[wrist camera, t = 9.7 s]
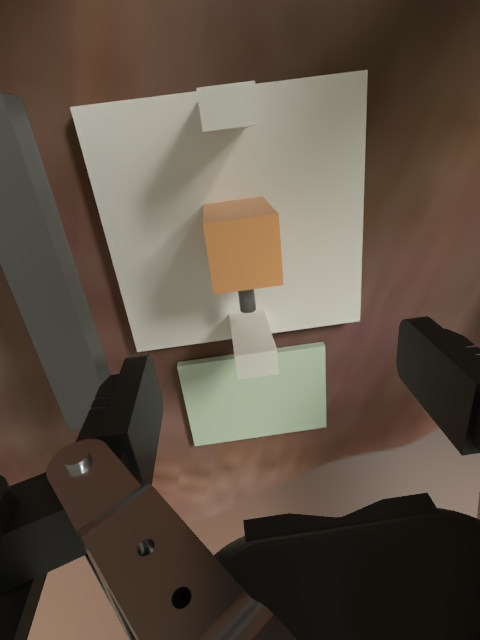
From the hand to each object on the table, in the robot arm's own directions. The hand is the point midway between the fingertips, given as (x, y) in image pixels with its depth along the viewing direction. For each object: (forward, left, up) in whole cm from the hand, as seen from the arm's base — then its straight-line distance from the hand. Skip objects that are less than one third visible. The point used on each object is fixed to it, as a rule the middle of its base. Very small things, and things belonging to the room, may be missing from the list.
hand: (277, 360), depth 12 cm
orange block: (0, +2, -19) cm, 19 cm away
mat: (0, +17, -21) cm, 27 cm away
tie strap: (+11, 0, -12) cm, 16 cm away
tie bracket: (0, 0, -21) cm, 21 cm away
